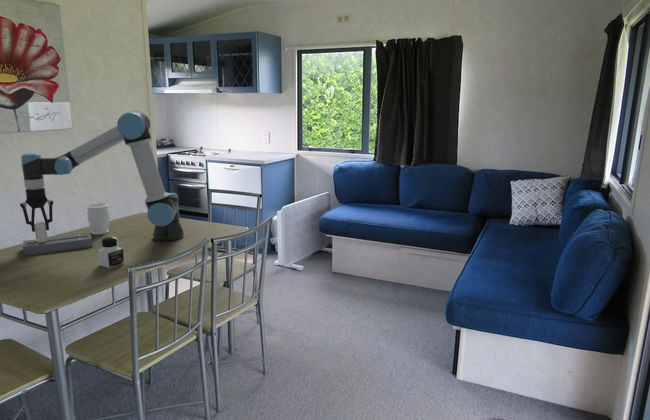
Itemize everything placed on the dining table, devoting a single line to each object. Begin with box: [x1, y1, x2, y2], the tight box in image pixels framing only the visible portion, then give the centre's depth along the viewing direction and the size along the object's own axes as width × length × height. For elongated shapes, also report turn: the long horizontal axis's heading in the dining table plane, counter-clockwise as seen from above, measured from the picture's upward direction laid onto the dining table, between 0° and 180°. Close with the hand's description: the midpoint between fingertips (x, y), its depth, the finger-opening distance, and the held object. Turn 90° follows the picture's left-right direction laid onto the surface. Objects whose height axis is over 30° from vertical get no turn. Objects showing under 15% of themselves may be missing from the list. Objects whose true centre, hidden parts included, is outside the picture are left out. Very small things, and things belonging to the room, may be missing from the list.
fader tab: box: [35, 219, 46, 243], centre depth 218 cm, size 3×6×11 cm, turn 31°
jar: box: [86, 202, 111, 236], centre depth 247 cm, size 11×10×15 cm
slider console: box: [22, 232, 94, 256], centre depth 223 cm, size 28×11×4 cm, turn 121°
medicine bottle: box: [97, 236, 125, 269], centre depth 200 cm, size 7×7×12 cm
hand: (41, 237), depth 218 cm, fingers closed on fader tab, 3 cm apart
